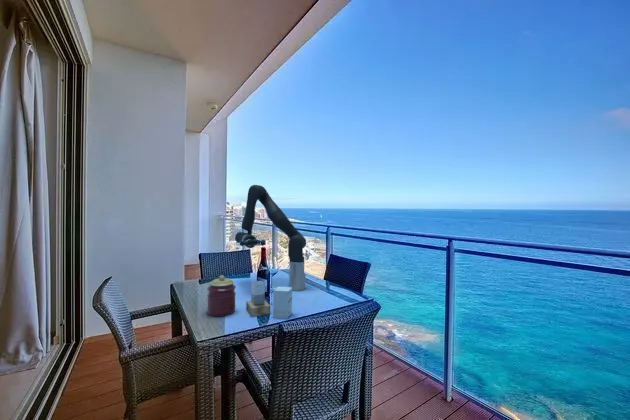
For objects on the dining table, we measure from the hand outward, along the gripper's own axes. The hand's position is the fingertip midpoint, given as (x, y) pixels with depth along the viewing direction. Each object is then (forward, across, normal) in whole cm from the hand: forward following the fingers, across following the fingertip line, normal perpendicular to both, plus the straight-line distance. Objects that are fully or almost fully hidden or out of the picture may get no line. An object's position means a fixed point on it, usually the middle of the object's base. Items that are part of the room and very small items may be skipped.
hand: (255, 244), depth 163 cm
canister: (+15, -20, +30) cm, 39 cm away
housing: (+21, -4, +26) cm, 33 cm away
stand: (+21, -4, +30) cm, 37 cm away
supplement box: (+30, +6, +30) cm, 43 cm away
